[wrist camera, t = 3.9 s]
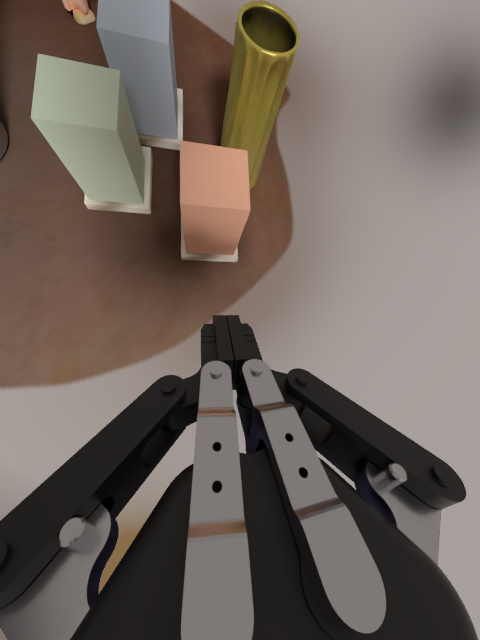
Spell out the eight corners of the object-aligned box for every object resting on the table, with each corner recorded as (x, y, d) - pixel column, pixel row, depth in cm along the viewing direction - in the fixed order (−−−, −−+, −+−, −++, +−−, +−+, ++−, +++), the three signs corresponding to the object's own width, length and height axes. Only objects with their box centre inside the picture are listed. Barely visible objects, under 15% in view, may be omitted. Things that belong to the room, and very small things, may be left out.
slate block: (129, 131, 27) (96, 27, 18) (130, 92, 28) (100, -26, 19) (177, 139, 28) (168, 44, 19) (177, 101, 29) (169, -7, 20)
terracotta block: (185, 252, 26) (180, 203, 17) (185, 208, 27) (180, 140, 18) (233, 255, 27) (250, 210, 19) (232, 212, 28) (247, 150, 19)
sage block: (89, 199, 25) (30, 117, 16) (92, 154, 26) (38, 53, 17) (144, 204, 26) (116, 130, 17) (145, 161, 27) (119, 70, 18)
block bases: (85, 255, 25) (80, 251, 24) (97, 81, 28) (93, 71, 27) (236, 262, 29) (237, 259, 28) (230, 106, 32) (231, 99, 31)
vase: (235, 147, 31) (264, -16, 17) (265, 176, 32) (318, 39, 18) (207, 170, 30) (215, 13, 16) (239, 200, 30) (275, 72, 16)
